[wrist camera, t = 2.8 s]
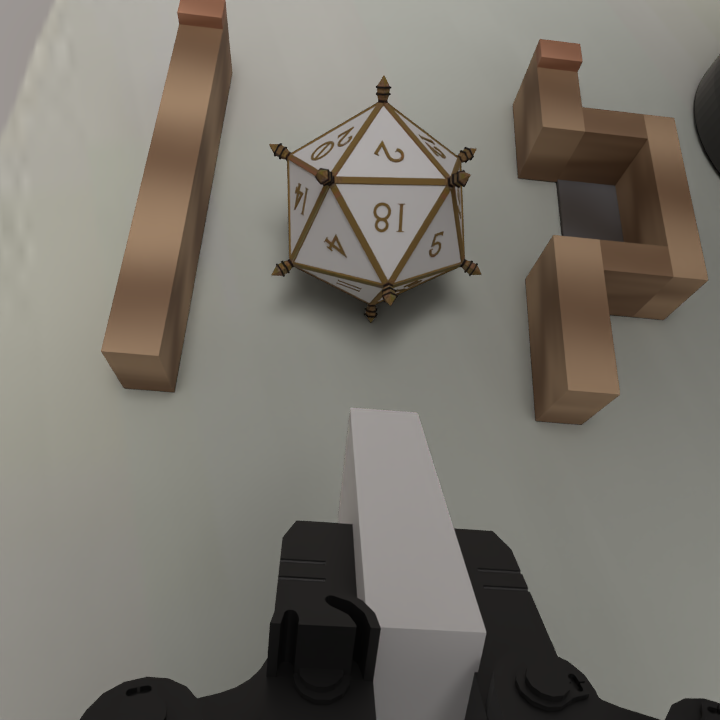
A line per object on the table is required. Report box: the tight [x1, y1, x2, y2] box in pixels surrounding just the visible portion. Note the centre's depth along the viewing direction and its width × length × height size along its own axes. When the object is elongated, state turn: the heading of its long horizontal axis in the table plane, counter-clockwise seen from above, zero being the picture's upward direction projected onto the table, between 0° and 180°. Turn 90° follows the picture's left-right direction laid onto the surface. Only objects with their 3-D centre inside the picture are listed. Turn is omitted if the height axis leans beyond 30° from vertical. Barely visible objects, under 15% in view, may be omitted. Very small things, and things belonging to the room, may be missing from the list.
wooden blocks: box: [101, 0, 708, 425], centre depth 29 cm, size 18×24×4 cm
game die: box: [269, 76, 482, 323], centre depth 26 cm, size 9×8×10 cm
